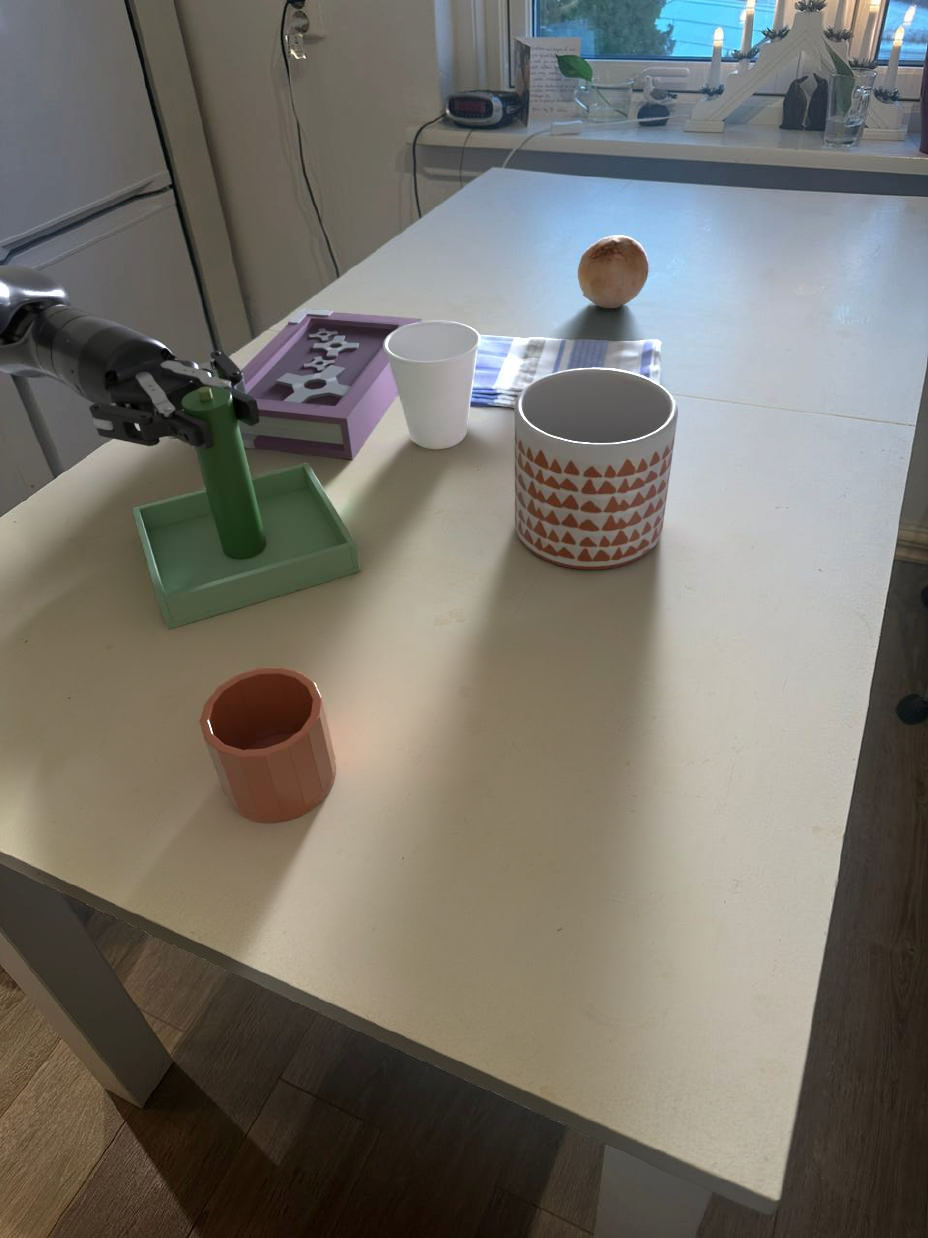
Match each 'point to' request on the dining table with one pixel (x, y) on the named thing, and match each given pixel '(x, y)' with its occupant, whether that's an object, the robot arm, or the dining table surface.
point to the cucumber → (227, 474)
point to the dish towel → (552, 363)
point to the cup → (434, 379)
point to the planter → (592, 466)
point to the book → (321, 383)
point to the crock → (270, 744)
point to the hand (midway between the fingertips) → (231, 424)
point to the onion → (613, 271)
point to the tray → (214, 583)
